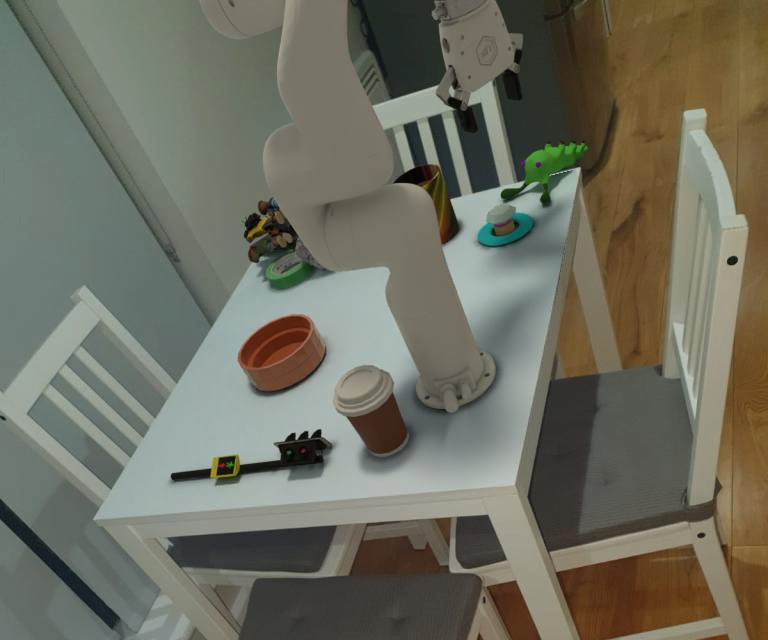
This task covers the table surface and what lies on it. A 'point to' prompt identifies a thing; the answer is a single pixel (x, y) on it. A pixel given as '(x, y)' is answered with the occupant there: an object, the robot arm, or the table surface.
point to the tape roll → (291, 276)
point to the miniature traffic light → (291, 455)
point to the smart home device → (289, 245)
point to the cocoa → (372, 409)
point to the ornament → (504, 225)
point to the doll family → (267, 229)
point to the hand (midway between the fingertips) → (493, 115)
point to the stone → (306, 254)
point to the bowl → (281, 352)
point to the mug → (434, 196)
